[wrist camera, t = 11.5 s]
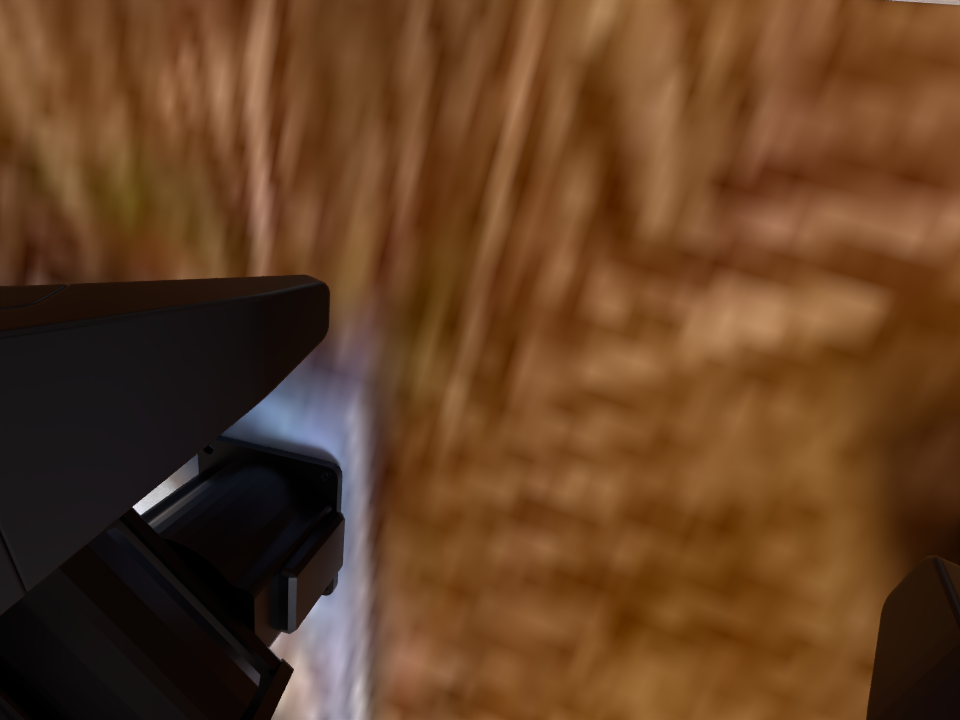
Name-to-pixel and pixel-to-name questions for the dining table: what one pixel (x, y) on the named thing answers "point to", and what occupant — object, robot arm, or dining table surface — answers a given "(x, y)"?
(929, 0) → the socket plate
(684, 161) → the dining table surface
